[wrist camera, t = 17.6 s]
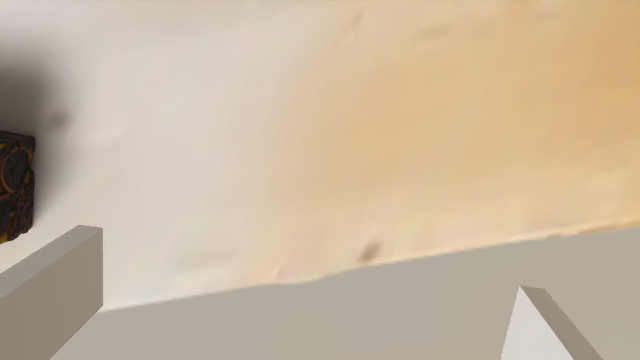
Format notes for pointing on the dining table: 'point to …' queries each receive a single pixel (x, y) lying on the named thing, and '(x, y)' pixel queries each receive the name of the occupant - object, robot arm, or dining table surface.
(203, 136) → the dining table surface
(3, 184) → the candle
